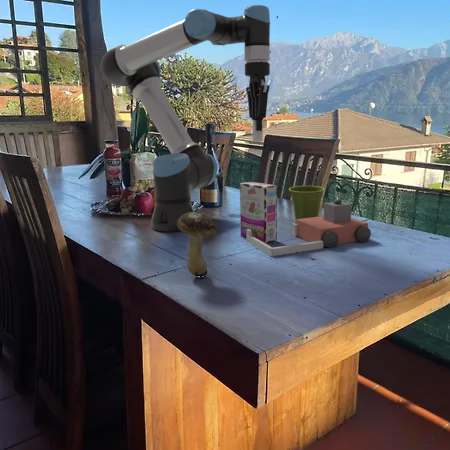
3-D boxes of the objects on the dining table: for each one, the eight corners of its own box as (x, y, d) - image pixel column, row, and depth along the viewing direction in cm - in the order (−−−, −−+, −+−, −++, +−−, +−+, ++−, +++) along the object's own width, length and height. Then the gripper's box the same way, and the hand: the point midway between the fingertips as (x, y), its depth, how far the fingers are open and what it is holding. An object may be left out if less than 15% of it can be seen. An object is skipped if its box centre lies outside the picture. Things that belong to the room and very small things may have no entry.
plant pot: (297, 215, 161) (298, 184, 158) (329, 219, 154) (330, 187, 151) (281, 223, 151) (282, 189, 149) (314, 227, 145) (315, 193, 142)
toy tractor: (271, 256, 117) (271, 215, 114) (244, 240, 132) (244, 203, 129) (371, 241, 129) (373, 203, 126) (336, 227, 144) (337, 193, 141)
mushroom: (179, 271, 108) (176, 210, 105) (215, 269, 109) (214, 208, 105) (179, 286, 99) (176, 219, 95) (218, 284, 100) (216, 218, 96)
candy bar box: (277, 240, 131) (278, 185, 127) (265, 244, 128) (265, 187, 124) (252, 233, 140) (251, 180, 136) (239, 236, 137) (239, 182, 133)
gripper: (277, 60, 132) (277, 142, 137) (260, 64, 143) (260, 139, 149) (254, 59, 129) (254, 143, 135) (238, 64, 141) (239, 140, 147)
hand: (257, 141), depth 142 cm, fingers closed
